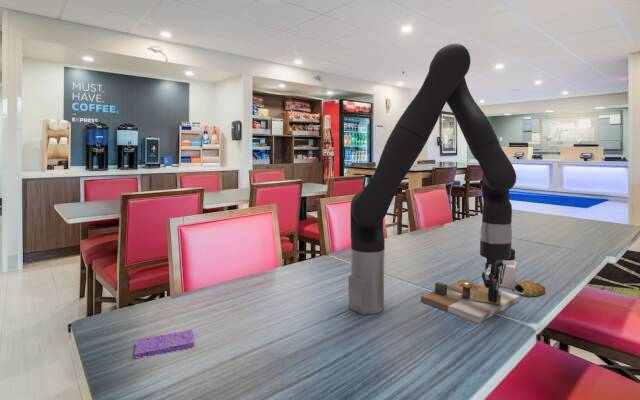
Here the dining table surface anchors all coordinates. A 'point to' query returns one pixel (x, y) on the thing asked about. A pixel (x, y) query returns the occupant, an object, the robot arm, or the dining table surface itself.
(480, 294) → the latch bar
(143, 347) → the sponges
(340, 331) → the dining table surface
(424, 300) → the door board
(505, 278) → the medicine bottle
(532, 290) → the pastry
